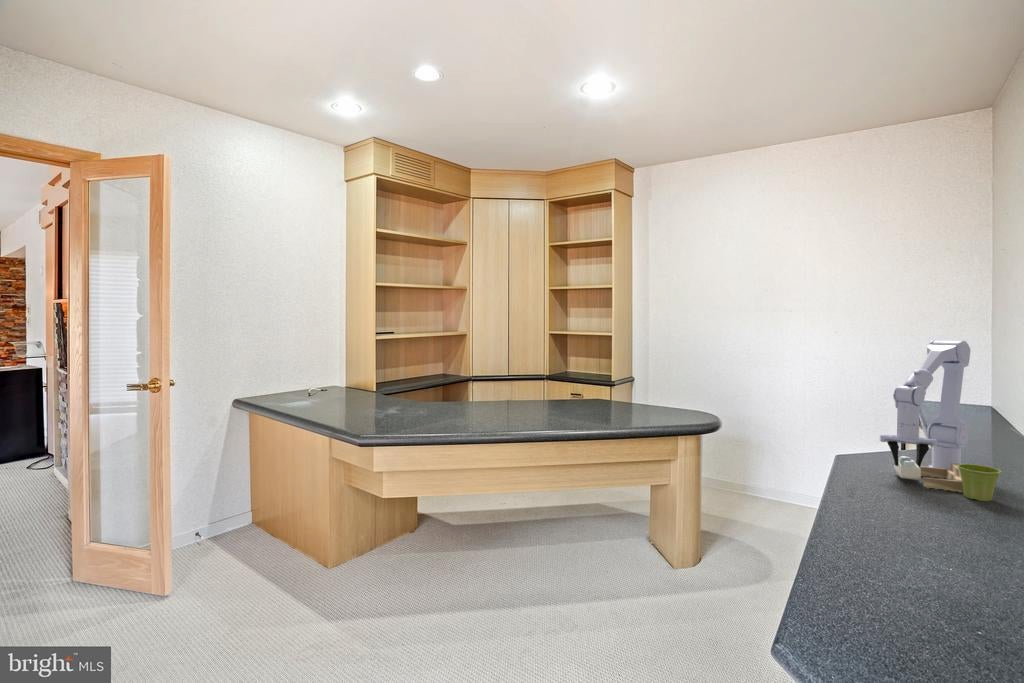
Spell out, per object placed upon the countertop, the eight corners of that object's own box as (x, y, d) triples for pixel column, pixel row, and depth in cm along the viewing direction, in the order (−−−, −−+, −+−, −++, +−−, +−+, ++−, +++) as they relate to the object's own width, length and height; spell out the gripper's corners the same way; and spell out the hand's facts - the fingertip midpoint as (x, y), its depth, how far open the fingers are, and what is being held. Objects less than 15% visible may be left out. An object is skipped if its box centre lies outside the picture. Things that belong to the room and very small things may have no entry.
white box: (894, 468, 178) (894, 454, 178) (912, 470, 176) (912, 456, 176) (900, 477, 168) (901, 462, 168) (920, 480, 166) (920, 464, 165)
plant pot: (983, 493, 158) (983, 464, 158) (1009, 504, 149) (1010, 473, 148) (948, 492, 159) (949, 463, 159) (972, 503, 149) (973, 472, 149)
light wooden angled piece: (913, 474, 178) (913, 459, 178) (961, 479, 172) (962, 463, 172) (924, 487, 163) (924, 471, 163) (977, 493, 157) (978, 476, 157)
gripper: (882, 423, 171) (881, 466, 171) (939, 427, 164) (938, 472, 165) (879, 420, 177) (878, 461, 178) (934, 424, 171) (933, 466, 171)
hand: (907, 466), depth 172 cm, fingers closed on white box, 5 cm apart
